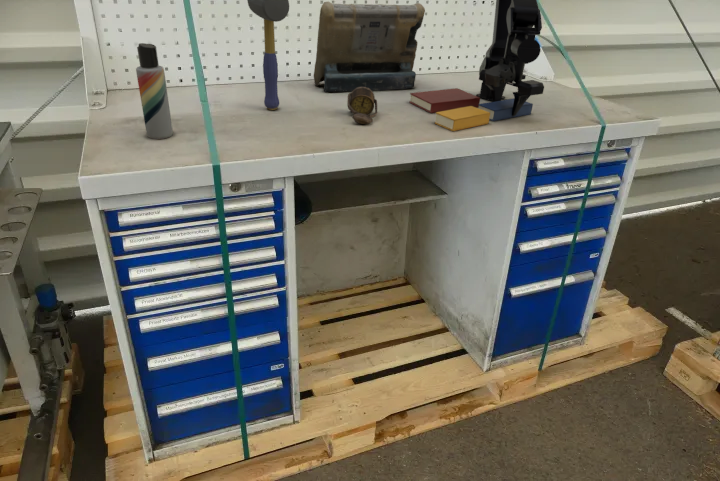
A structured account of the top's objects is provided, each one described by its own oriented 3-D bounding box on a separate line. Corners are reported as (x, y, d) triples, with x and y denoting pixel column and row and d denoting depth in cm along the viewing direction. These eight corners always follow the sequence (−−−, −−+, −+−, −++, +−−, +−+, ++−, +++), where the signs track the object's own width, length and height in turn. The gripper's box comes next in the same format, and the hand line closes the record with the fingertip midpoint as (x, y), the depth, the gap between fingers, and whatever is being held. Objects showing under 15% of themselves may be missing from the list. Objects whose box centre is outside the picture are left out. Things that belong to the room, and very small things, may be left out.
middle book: (513, 108, 154) (515, 97, 152) (530, 114, 149) (533, 103, 148) (476, 114, 146) (478, 104, 145) (493, 121, 142) (495, 110, 140)
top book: (469, 116, 144) (471, 105, 143) (488, 123, 140) (490, 112, 138) (434, 123, 138) (435, 112, 136) (453, 131, 133) (454, 119, 131)
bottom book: (455, 97, 161) (457, 88, 159) (478, 107, 153) (480, 97, 151) (409, 102, 154) (410, 92, 152) (430, 113, 145) (431, 103, 144)
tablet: (401, 78, 178) (408, -3, 165) (421, 89, 167) (431, 3, 155) (310, 84, 166) (310, -3, 153) (326, 96, 155) (327, 4, 143)
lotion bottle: (150, 130, 123) (135, 40, 113) (175, 131, 123) (163, 41, 113) (144, 139, 118) (128, 46, 108) (170, 139, 119) (156, 47, 108)
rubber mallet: (293, 114, 139) (291, -11, 123) (266, 117, 135) (261, -11, 120) (276, 101, 148) (273, -17, 133) (251, 104, 145) (244, -17, 129)
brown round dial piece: (390, 93, 140) (356, 80, 142) (376, 101, 129) (339, 86, 131) (382, 119, 144) (349, 106, 145) (367, 128, 133) (332, 114, 134)
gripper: (469, 49, 142) (460, 106, 150) (521, 64, 129) (509, 126, 137) (498, 47, 147) (488, 102, 155) (551, 61, 134) (537, 120, 142)
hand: (504, 112), depth 147 cm, fingers closed on middle book, 6 cm apart
